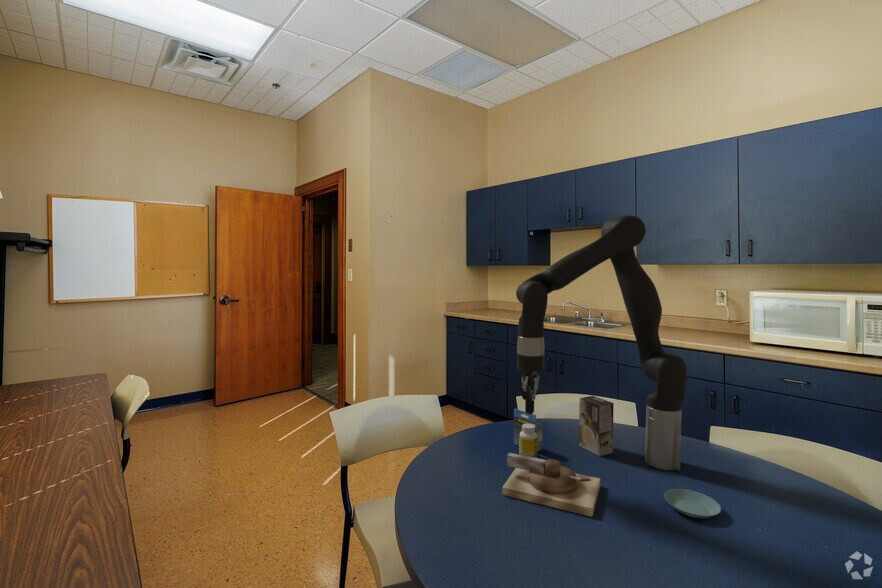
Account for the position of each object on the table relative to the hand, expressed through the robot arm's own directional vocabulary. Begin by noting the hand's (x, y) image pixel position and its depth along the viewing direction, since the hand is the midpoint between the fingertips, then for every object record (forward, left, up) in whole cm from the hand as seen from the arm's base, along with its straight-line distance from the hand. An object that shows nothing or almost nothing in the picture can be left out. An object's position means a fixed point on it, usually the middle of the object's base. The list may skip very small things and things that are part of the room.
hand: (529, 412), depth 121 cm
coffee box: (-15, -25, -18) cm, 34 cm away
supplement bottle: (+3, -10, -18) cm, 20 cm away
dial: (-6, +7, -15) cm, 17 cm away
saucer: (-40, +1, -18) cm, 44 cm away
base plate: (-8, +7, -17) cm, 20 cm away
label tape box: (+5, -17, -18) cm, 25 cm away
